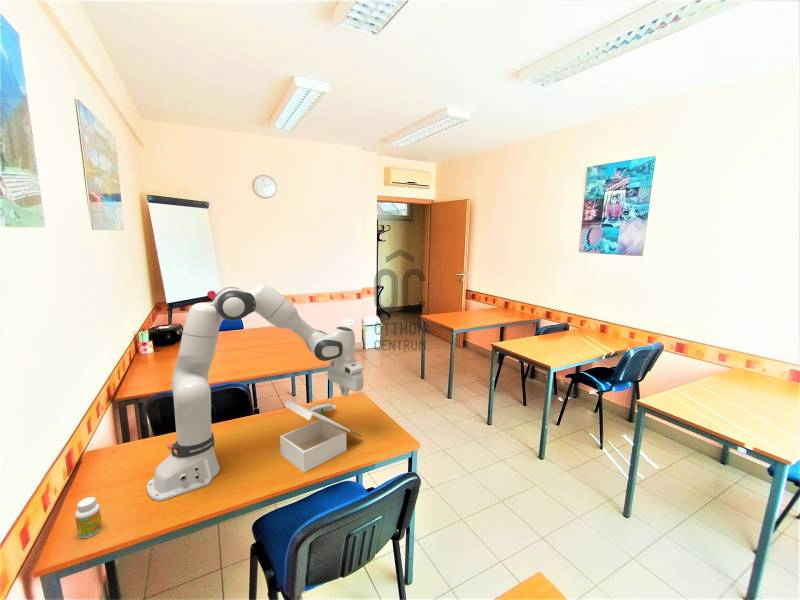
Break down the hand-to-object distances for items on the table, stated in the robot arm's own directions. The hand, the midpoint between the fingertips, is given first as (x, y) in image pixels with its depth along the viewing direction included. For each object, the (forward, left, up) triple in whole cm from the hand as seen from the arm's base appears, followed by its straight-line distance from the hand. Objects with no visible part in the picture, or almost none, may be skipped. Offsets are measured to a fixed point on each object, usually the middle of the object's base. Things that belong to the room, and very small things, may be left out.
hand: (344, 395), depth 154 cm
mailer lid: (-12, 0, -9) cm, 15 cm away
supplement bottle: (-84, +13, -20) cm, 88 cm away
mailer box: (-16, 0, -20) cm, 25 cm away
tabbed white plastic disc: (+5, +24, -20) cm, 32 cm away
